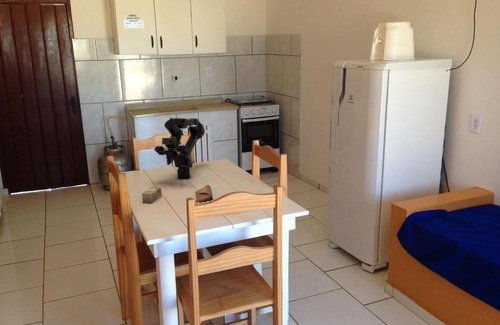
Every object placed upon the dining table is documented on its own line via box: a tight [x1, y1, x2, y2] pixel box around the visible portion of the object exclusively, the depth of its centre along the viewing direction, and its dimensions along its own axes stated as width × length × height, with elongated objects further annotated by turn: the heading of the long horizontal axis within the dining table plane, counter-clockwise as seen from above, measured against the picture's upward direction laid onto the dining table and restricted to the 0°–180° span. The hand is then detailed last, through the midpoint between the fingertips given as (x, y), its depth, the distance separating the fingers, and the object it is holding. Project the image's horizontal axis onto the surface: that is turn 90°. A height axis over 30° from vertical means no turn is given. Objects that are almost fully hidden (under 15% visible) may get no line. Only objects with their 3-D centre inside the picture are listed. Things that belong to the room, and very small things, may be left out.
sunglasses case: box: [195, 184, 214, 204], centre depth 217 cm, size 18×7×7 cm
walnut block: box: [141, 186, 163, 205], centre depth 214 cm, size 5×5×10 cm
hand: (168, 164), depth 229 cm, fingers closed
